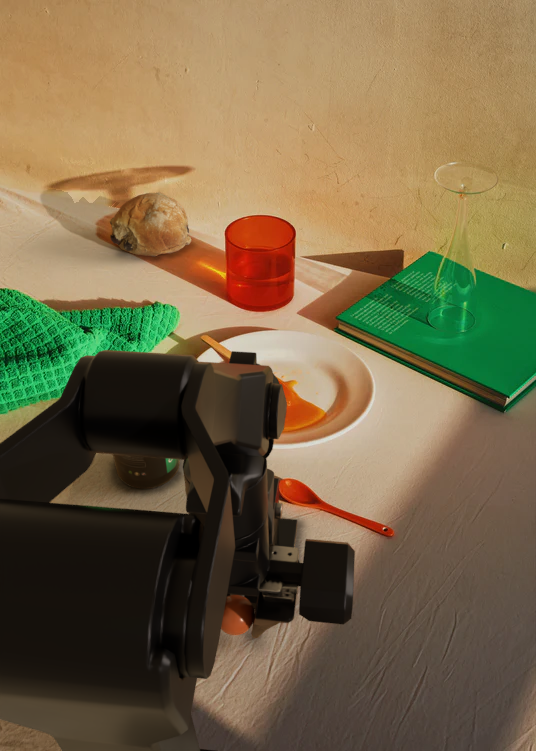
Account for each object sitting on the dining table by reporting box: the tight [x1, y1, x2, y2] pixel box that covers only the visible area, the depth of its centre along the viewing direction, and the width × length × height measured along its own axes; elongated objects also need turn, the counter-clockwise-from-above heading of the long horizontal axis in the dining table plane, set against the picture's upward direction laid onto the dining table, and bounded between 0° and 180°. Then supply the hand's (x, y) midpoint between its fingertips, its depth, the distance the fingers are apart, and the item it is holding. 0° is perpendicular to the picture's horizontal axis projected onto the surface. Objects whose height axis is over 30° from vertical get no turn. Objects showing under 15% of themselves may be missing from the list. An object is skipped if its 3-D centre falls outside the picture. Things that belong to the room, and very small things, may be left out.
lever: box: [221, 594, 255, 636], centre depth 63 cm, size 12×3×3 cm, turn 173°
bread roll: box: [109, 191, 192, 257], centre depth 119 cm, size 12×13×10 cm
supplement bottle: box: [113, 455, 181, 490], centre depth 76 cm, size 7×7×12 cm
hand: (237, 631), depth 63 cm, fingers closed on lever, 3 cm apart
